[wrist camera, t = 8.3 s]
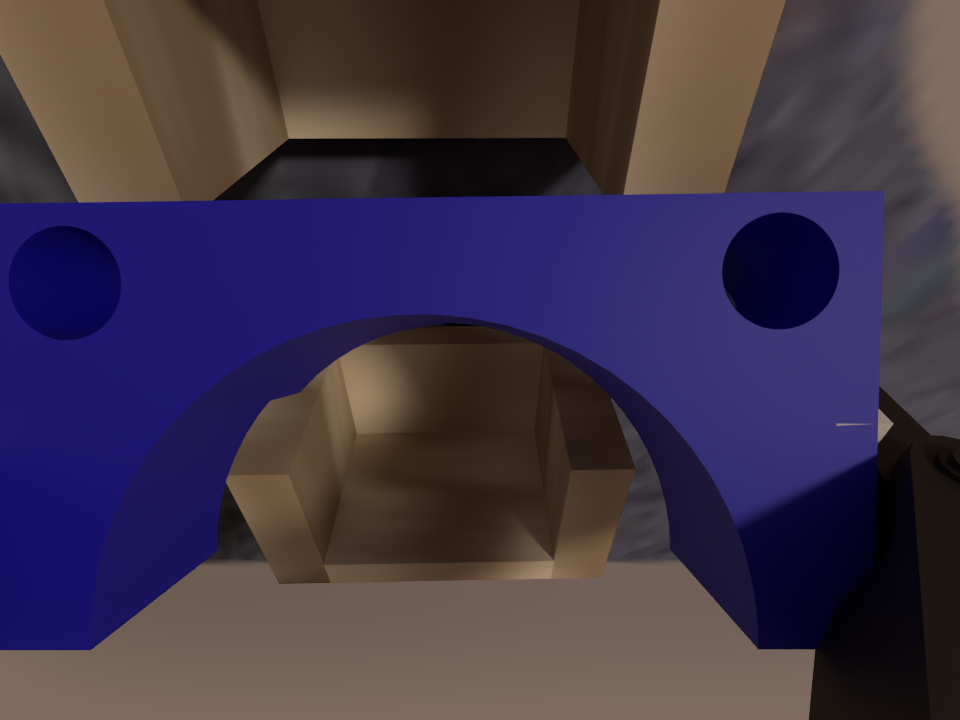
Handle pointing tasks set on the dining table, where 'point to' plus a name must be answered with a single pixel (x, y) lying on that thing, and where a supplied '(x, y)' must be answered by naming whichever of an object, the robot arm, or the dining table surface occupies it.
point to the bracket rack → (425, 350)
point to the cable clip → (421, 303)
